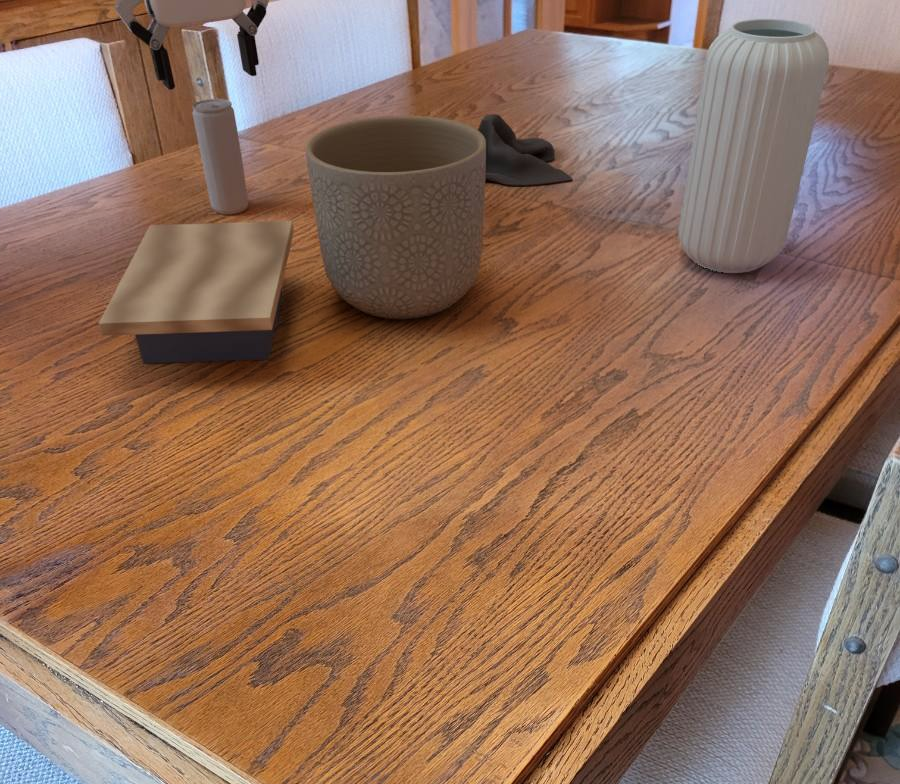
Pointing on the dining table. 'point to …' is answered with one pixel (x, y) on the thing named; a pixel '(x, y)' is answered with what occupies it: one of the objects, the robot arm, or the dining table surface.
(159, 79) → the robot arm
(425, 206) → the planter
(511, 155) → the cloth
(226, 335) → the crate
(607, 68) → the dining table surface
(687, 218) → the vase
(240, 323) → the board
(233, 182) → the beverage can
